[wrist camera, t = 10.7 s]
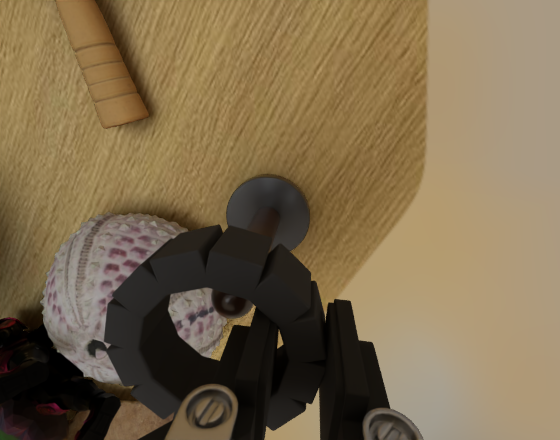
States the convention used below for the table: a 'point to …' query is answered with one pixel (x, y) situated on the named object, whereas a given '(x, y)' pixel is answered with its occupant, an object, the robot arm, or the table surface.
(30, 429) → the figurine
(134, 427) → the pottery shard
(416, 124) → the table surface
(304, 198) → the peg stand
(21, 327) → the action figure
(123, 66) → the kendama
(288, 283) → the ring
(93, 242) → the sea urchin shell
